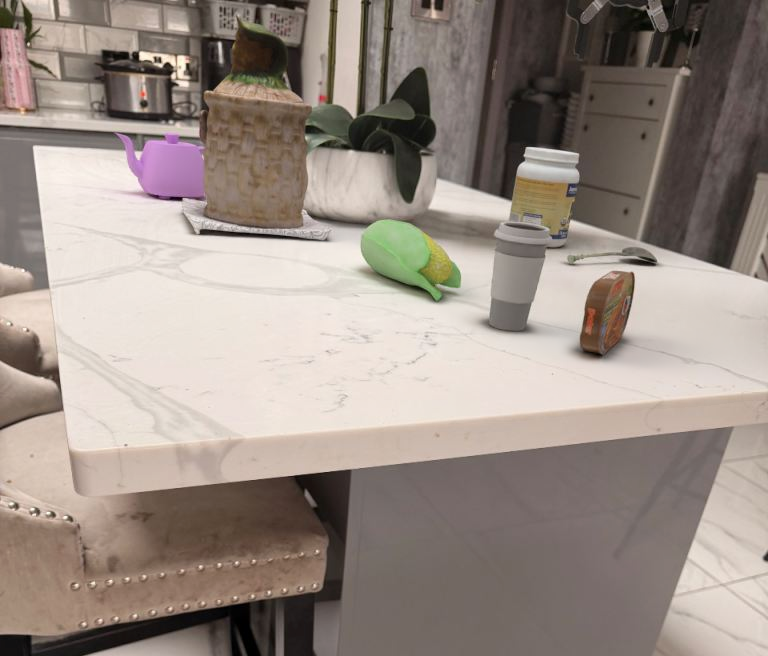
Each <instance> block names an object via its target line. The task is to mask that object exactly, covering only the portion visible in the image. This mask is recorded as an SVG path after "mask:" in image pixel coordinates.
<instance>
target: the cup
mask: <svg viewBox="0 0 768 656" xmlns="http://www.w3.org/2000/svg"><path fill="white" fill-rule="evenodd" d="M493 236H494V237H495V239H496V246H495V247H496V248H495V249H494V256H493V266H492V267H493V268H492V275H491V276H492V277H491V285H490V286H491V287H490V307H489V318H488V324H489V326H491V327H493V328H495V329H498V330H503V331H508V332H509V331H510V332H521V331H525V329H526V326H527V323H528V319H529V316H530V311H531V308H532V304H533V302H534V301H535V297H536V293H537V290H538V285H539V282H540V279H541V275H542V271H543V268H544V264H545V260H546V256H547V255H546V251H547V248H548V247H547V245H548V244H550V243H552V237H551V236H550V229H549V228H547V227H544V226H541V225H536V224H531V223H523V222H508V221H501V222H500V223H499V226H498V228H497V229H495V231H494V233H493Z"/></svg>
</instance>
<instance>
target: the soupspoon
mask: <svg viewBox="0 0 768 656" xmlns="http://www.w3.org/2000/svg"><path fill="white" fill-rule="evenodd" d="M609 256H610V257H611V256H620V257H636V258H639V259H641V260H644V261H646V262H650V263H656V264H657V263H658V259H657V257H656V256H655V255H654V254H653V253H651V251H649V250H647V249H645V248H642V247H638V246H630V247H629V246H628V247H625V248H623V249H621V251H618V252H617V251H616V252H615V251H611V252H598V253H589V254H583V253H581V254H577V255H573V254H568V255H567V257H566V258H567V259H566V260H567V262H568V264H569V265H573V264H574V263H575V262H576V261H580V260H584V259H587V258H596V257H609Z"/></svg>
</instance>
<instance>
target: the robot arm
mask: <svg viewBox="0 0 768 656" xmlns="http://www.w3.org/2000/svg"><path fill="white" fill-rule="evenodd" d="M674 1H675V2H674V6H673V11H672V17H671V18H668V19H667V17H666V14H665V11H664V6H663V4H662V2H661V0H593V2H592V3H591V4H590V5H589V6H588V7H587V8H586V9H585V10H583V9H582V8H580V7H579V4H580V0H568V1H567V5H566V10H565V15H566V17H567V18H569V19H571V20H573V21H575V22H576V24H577V29H576V33H575V41H574V46H573V54H574V55H577V57H576V58H577V59H576V60H577V61H584V59H585V56H586V51H587V46H588V39H589V34H590V29H591V25H590V22H591V20H592V19H593V18H594V17H595V16H596V15H597V13H599V11H601V9H602V8H603V7H604V6H605V5H606V4H607V3H609V4H610V5H612V7H617V8H620V7H625V6H626V7H628V8H631V9H635V10H636V9H637V10H639V9H640V8H643V7H645V10H646V12H647V14H648V15H647V16H648V17H649V18H650V20H651V23H652V26H653V29H654V31H653V33H651V36H650V40H649V45H648V49H647V54H646V57H645V61H644V62H645V63H644V69H652V68H653V66H654V64H658V62H659V60H660V59H661V56H662V55H661V54H662V51H663V47H664V42H665V38H666V35H667V34H668V32H670V31H674V30H678V29H680V28H682V27H684V25H685V23H686V18H687V13H688V8H689V3H690V0H674Z"/></svg>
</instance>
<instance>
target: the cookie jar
mask: <svg viewBox="0 0 768 656" xmlns="http://www.w3.org/2000/svg"><path fill="white" fill-rule="evenodd" d="M235 18H236V22H237V31H236V32H235V35H234V37H235V41H234V43H233V45H232V46H231V50H232V55H231V56H232V61H233V64H232V67H231V70H230V72H229V74H228V75H227V76H226V77H225V78H224V79H223V80H222V81H220V83H219V84H217V86H216V87H215V88H214V89H213V90H205V91H204V92H203V100H204V102H205V104H206V105H207V107H208V110H207V109H203V110H200V113H199V117H198V119H199V120H198V123H199V124H198V125H199V129H198V137H199V141H200V142H201V143H202V144H203V145H204V146H203V147H204V151H203V155H202V158H203V160H204V165H203V189H204V193H205V195H204V196H205V198H206V201H204V200H203V201H201V200H198V199H196V200H193V199H187V198H185V197H182V202H181V208H182V211H183V212H182V213H183V215H184V216H185V217H186V218H187V220H188V222H189V223H190V224H191V226H192V227H193V230H194V232H195V234H196V235H199V234H200V233H201V232H200V231H201V230H211V231H212V230H213V231H221V232H222V231H223V232H233V233H247V234H248V233H249V234H264V235H265V234H266V235H276V236H278V235H279V236H286V237H297V238H301V239H307V240H320V241H325V240H326V239H327V237H328V236H329V235H330V233H331V228H330V227H327V226H326V225H323V224H322V223H321V222H320V221H317V220H315V219H313V218H312V217H311V216H310V215H309V214H308V212H307V210H305V209H304V206H305V205H304V204H305V203H304V202H305V200H306V199H305V198H306V193H307V189H308V186H309V173H308V168H307V155H308V154H307V153H308V146H307V140H306V125H307V120H308V118H309V117H310V116H311V114H312V112H313V106H312V105H311V104H310V103H307V102H306V103H305V102H304V100H303V99H302V97H300V95H298V94H296V93H295V92H293V91H292V90H291V89H290V88H289V86H288V85H287V84H286V82H285V81H284V80H283V77H284V75H285V72H286V71H287V69H288V68H287V67H288V64H289V52H288V47H287V45H286V43H285V42H284V41H283V40H282V39H281V38H280V36H279V35H278V34H276V33H275V32H273V31H271V30H270V29H269V28H268V27H266V26H264V25H263V24H260V23H255V22H254V23H253V22H247V21H244V20H243V19H242V17H241V15H240V14H236V15H235Z"/></svg>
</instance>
